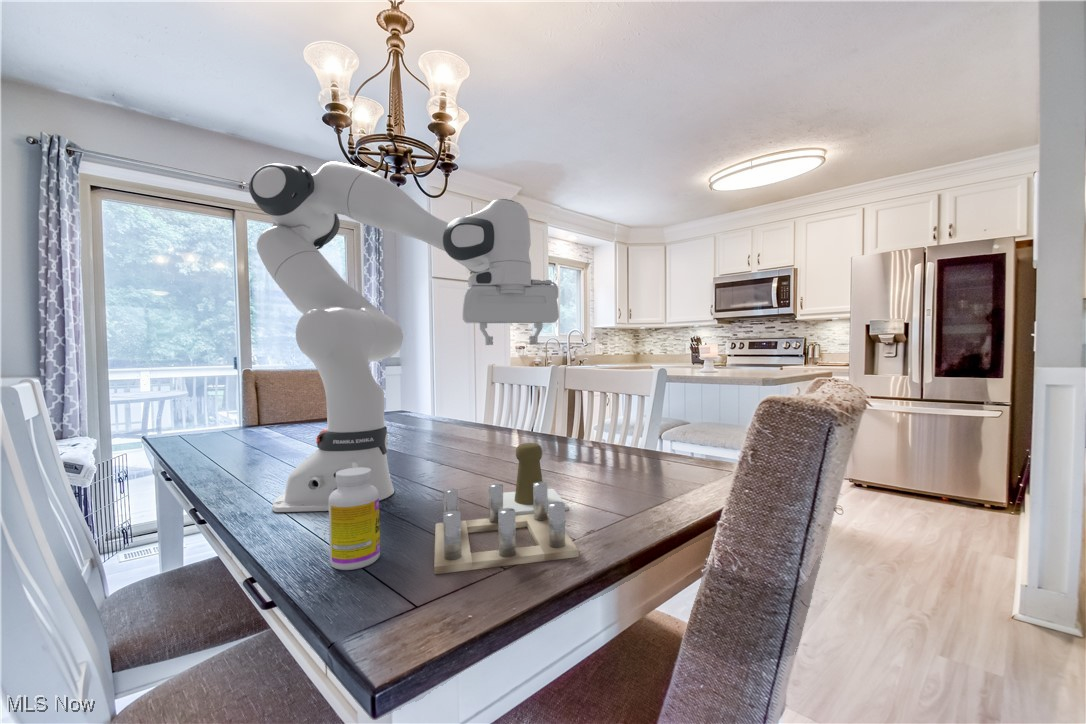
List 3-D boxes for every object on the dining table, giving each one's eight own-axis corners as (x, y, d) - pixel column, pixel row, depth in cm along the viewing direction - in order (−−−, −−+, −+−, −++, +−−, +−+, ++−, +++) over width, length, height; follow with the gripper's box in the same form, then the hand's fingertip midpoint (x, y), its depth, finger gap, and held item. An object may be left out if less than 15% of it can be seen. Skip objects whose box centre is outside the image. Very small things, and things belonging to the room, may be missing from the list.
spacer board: (434, 574, 60) (434, 566, 60) (435, 529, 75) (435, 523, 75) (578, 556, 64) (578, 549, 64) (551, 517, 80) (551, 512, 80)
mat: (504, 516, 81) (504, 512, 81) (496, 496, 93) (496, 493, 93) (568, 510, 84) (568, 506, 84) (553, 491, 95) (552, 488, 95)
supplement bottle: (384, 564, 63) (382, 472, 63) (332, 576, 60) (330, 480, 59) (375, 547, 69) (374, 463, 69) (327, 557, 65) (325, 469, 65)
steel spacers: (444, 564, 60) (443, 520, 60) (443, 523, 75) (442, 487, 75) (569, 550, 64) (568, 508, 64) (544, 513, 79) (544, 479, 79)
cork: (546, 495, 91) (545, 440, 91) (543, 505, 85) (542, 446, 85) (517, 494, 91) (516, 440, 91) (512, 504, 85) (511, 446, 85)
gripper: (554, 282, 100) (555, 344, 100) (461, 280, 96) (462, 345, 96) (562, 277, 94) (563, 343, 94) (462, 275, 89) (464, 345, 90)
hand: (511, 344), depth 95 cm, fingers open, 8 cm apart
